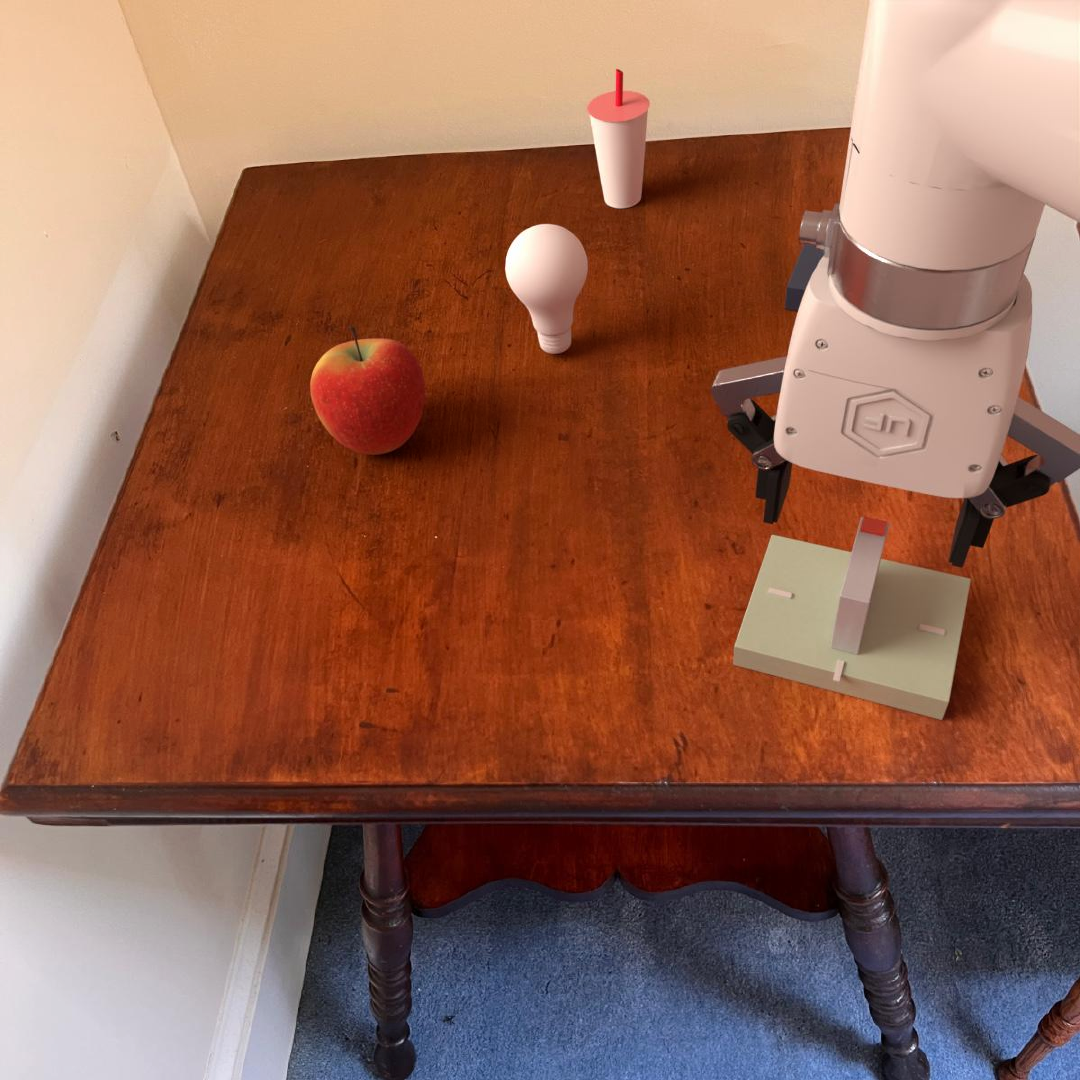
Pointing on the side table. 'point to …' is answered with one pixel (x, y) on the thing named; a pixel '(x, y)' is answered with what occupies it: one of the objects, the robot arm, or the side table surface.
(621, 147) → the cup
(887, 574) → the panel
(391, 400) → the apple
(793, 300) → the button block
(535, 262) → the lightbulb
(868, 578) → the tap handle
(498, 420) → the side table surface
